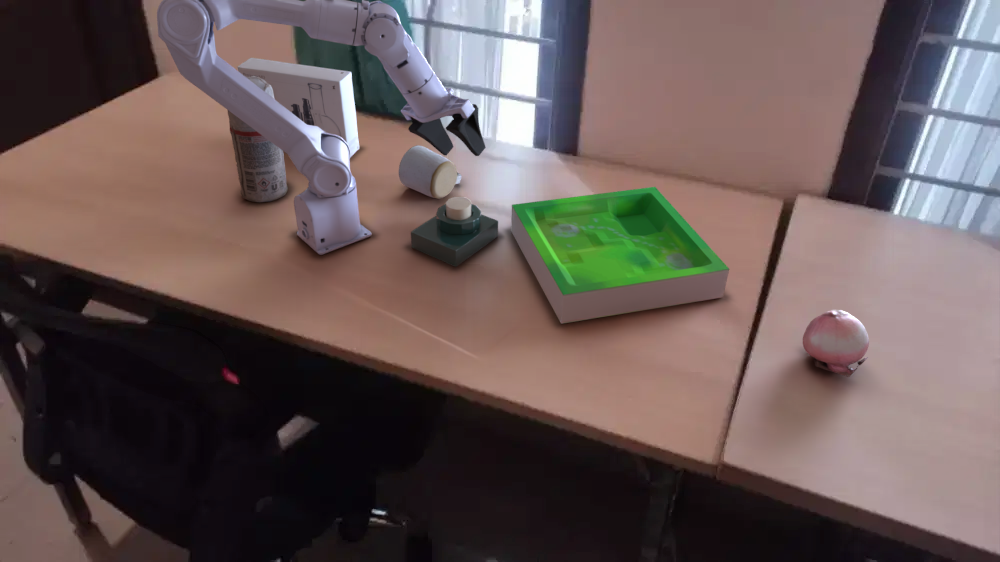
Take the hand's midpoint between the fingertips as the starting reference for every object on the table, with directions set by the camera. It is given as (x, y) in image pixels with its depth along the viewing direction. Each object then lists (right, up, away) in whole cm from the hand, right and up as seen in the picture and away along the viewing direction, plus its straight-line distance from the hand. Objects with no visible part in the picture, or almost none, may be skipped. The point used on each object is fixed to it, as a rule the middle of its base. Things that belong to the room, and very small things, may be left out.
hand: (464, 151), depth 121 cm
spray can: (-36, -5, +15) cm, 39 cm away
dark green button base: (-2, -14, +3) cm, 14 cm away
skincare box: (-32, +6, +30) cm, 45 cm away
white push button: (-1, -10, +1) cm, 10 cm away
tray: (+23, -18, -1) cm, 29 cm away
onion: (+49, -31, -19) cm, 61 cm away
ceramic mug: (-6, -4, +17) cm, 19 cm away
